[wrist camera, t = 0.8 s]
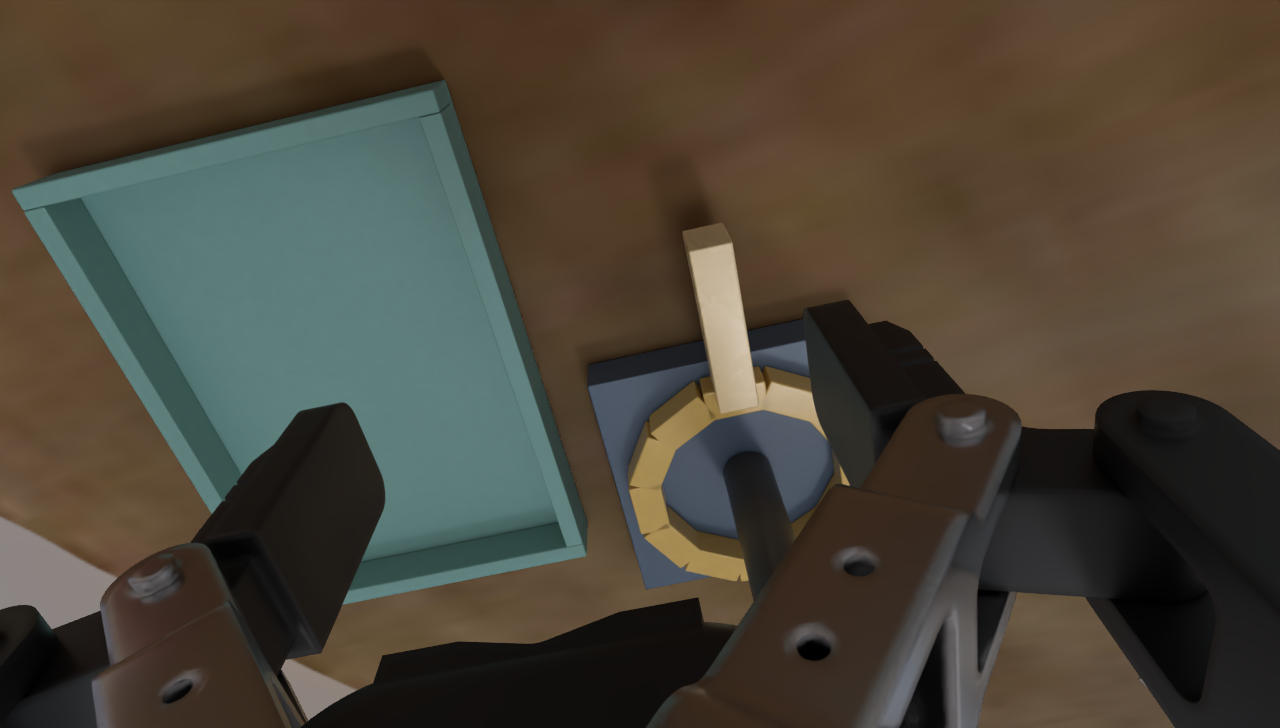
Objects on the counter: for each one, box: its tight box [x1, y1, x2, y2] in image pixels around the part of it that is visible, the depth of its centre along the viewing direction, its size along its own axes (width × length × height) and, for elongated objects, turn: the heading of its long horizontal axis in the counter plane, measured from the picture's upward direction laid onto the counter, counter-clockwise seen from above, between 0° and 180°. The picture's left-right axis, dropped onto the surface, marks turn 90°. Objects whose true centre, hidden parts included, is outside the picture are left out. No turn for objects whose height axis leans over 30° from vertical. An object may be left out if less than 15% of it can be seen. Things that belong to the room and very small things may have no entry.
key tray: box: [12, 80, 588, 605], centre depth 32 cm, size 22×16×2 cm
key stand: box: [588, 319, 834, 601], centre depth 27 cm, size 12×12×20 cm
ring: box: [628, 223, 850, 581], centre depth 32 cm, size 17×11×2 cm, turn 12°
